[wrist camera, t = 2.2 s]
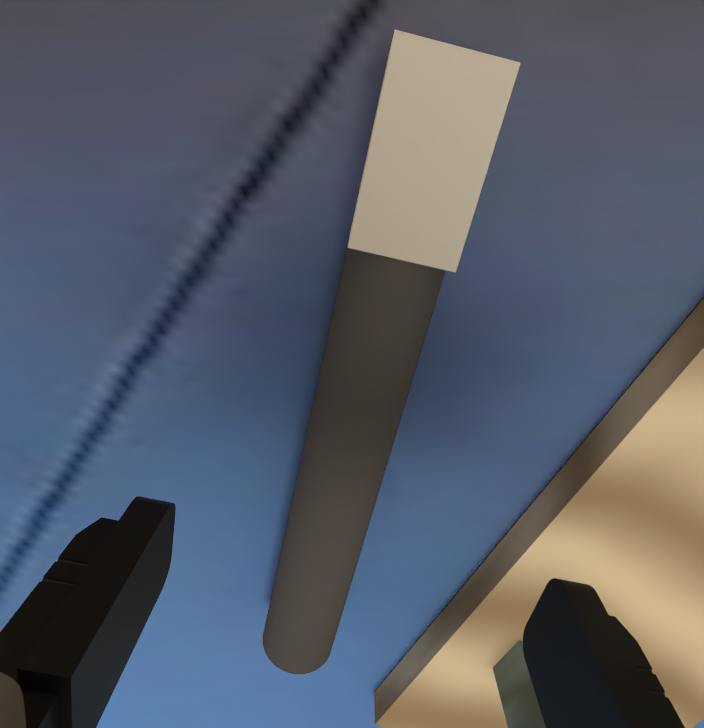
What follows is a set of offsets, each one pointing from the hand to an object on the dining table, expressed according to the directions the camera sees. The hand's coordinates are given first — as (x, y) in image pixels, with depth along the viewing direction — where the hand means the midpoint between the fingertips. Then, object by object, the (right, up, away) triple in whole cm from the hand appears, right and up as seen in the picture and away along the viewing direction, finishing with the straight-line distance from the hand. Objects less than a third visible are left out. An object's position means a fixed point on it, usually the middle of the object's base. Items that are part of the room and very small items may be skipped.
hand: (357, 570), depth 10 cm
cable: (0, +3, +8) cm, 8 cm away
